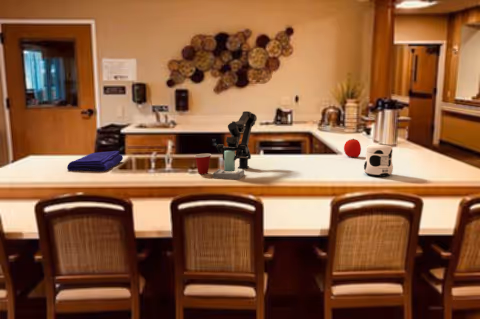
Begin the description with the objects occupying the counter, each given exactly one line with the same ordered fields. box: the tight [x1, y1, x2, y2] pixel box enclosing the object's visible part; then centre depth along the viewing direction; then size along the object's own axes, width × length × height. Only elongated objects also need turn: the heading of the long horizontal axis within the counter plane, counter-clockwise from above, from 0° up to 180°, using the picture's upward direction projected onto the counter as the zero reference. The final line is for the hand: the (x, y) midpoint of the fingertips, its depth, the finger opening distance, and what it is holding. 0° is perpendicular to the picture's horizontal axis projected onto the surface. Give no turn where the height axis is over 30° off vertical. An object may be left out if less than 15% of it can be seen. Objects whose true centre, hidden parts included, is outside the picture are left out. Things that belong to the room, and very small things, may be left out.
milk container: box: [363, 144, 394, 177], centre depth 298 cm, size 17×17×18 cm
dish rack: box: [212, 168, 245, 180], centre depth 293 cm, size 14×16×3 cm
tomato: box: [343, 138, 362, 158], centre depth 361 cm, size 13×11×14 cm
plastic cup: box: [193, 153, 212, 175], centre depth 300 cm, size 11×11×12 cm
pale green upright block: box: [223, 150, 236, 172], centre depth 292 cm, size 6×6×12 cm
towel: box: [66, 150, 124, 172], centre depth 321 cm, size 26×36×9 cm
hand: (228, 160), depth 291 cm, fingers closed on pale green upright block, 6 cm apart
